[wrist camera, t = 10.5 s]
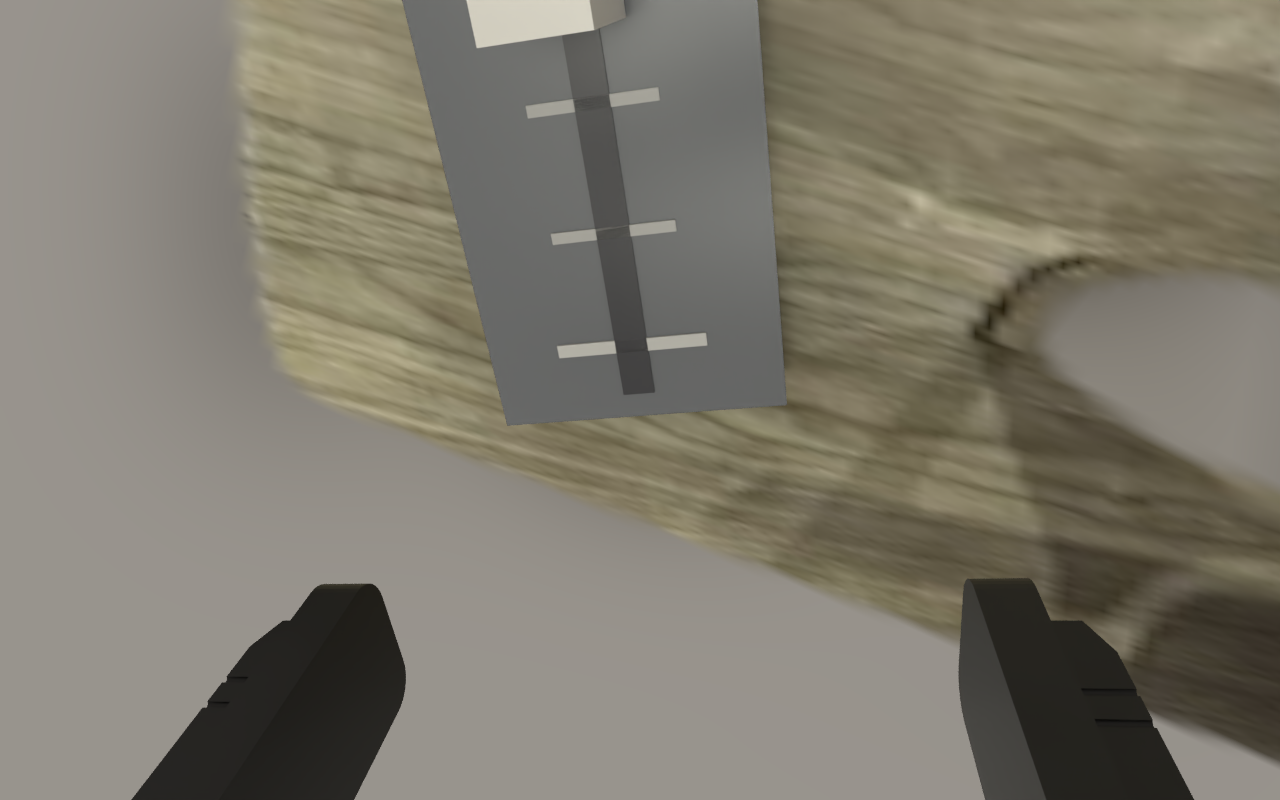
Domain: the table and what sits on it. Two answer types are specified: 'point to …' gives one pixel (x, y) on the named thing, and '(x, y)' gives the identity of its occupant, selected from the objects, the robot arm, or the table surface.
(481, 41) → the fader
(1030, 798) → the robot arm
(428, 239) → the table surface
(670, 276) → the console
